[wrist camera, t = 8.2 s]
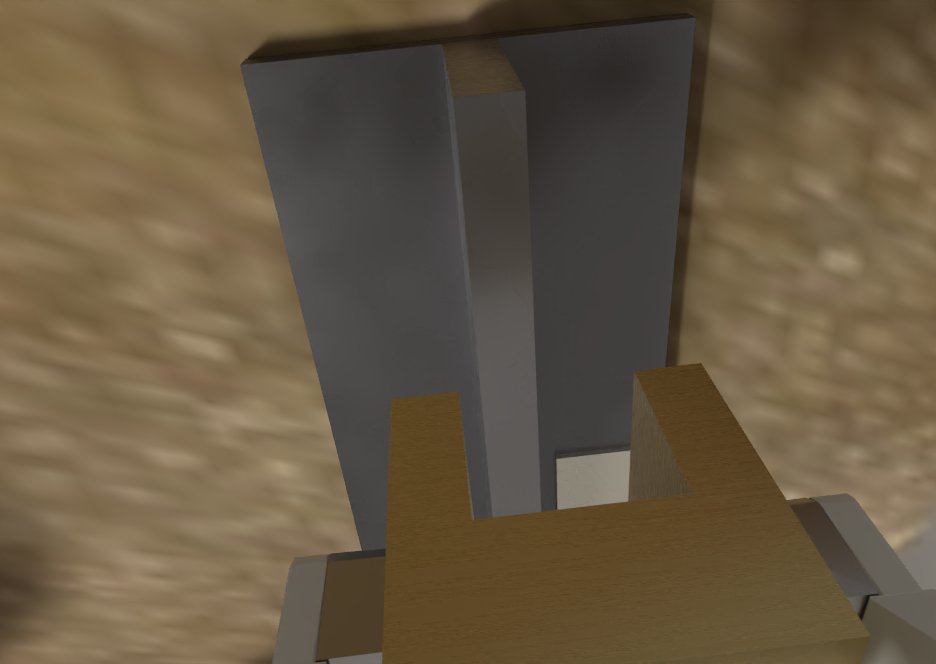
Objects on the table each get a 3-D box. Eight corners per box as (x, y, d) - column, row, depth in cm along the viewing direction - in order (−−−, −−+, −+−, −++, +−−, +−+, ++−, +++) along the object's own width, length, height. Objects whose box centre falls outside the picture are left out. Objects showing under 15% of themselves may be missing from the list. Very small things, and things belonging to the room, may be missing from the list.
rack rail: (245, 58, 16) (187, 126, 12) (686, 12, 16) (786, 62, 12) (388, 640, 28) (385, 775, 24) (638, 610, 28) (679, 739, 24)
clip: (390, 399, 10) (381, 696, 7) (701, 363, 10) (870, 635, 7) (424, 577, 12) (431, 878, 9) (681, 546, 13) (800, 832, 9)
